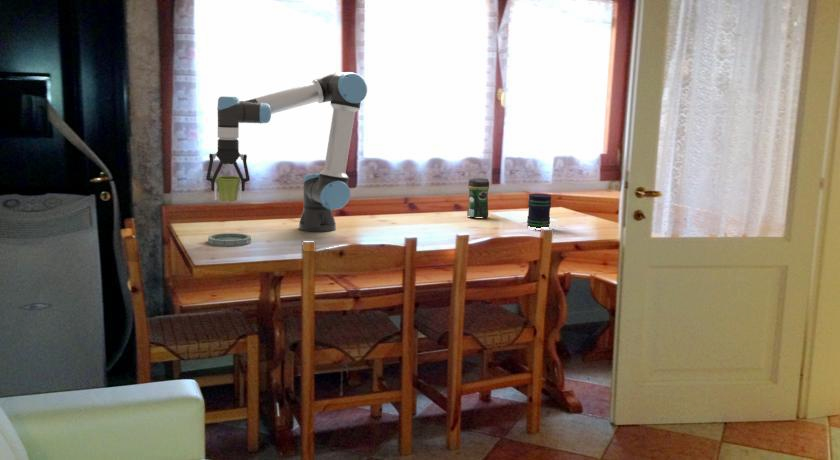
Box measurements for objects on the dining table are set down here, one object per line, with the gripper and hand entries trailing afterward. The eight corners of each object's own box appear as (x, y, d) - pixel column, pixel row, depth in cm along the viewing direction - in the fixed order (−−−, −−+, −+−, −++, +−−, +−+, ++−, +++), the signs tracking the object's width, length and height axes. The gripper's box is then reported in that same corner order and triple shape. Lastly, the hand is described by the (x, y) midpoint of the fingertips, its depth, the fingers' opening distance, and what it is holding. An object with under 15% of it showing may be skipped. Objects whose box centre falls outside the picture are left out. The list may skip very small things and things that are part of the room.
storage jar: (553, 229, 356) (556, 195, 354) (541, 231, 349) (543, 197, 347) (535, 226, 363) (537, 193, 360) (522, 228, 356) (524, 194, 353)
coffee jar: (480, 215, 387) (482, 177, 384) (490, 218, 381) (492, 179, 377) (464, 216, 382) (465, 177, 379) (473, 219, 376) (475, 179, 372)
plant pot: (227, 203, 298) (227, 179, 296) (209, 200, 303) (209, 177, 301) (246, 200, 305) (246, 177, 304) (228, 198, 310) (228, 175, 309)
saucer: (258, 240, 309) (258, 235, 309) (238, 247, 295) (238, 242, 294) (221, 236, 313) (221, 231, 313) (200, 244, 299) (200, 238, 298)
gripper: (257, 138, 306) (256, 198, 310) (198, 137, 301) (199, 198, 305) (257, 140, 299) (257, 201, 303) (198, 138, 294) (198, 200, 298)
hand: (228, 199), depth 304 cm, fingers closed on plant pot, 8 cm apart
